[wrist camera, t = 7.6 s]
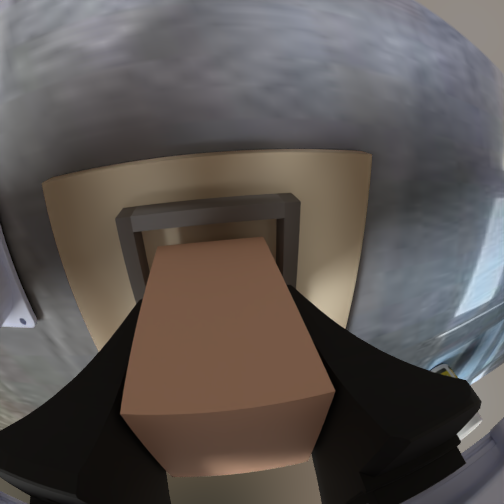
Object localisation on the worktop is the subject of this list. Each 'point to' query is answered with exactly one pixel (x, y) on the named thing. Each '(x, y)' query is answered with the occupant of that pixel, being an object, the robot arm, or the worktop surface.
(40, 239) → the worktop surface
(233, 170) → the board
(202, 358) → the tan tall block
